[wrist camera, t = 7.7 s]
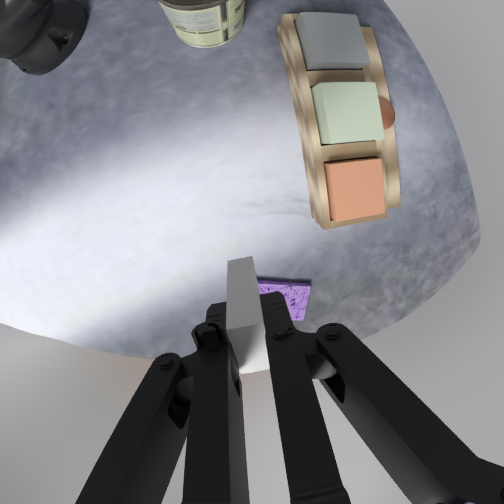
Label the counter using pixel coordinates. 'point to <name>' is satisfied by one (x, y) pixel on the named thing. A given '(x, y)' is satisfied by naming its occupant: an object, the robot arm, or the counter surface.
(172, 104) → the counter surface
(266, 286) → the sponges
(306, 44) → the grey key
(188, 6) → the coffee can
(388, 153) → the key panel
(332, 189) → the terracotta key
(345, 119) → the sage key
